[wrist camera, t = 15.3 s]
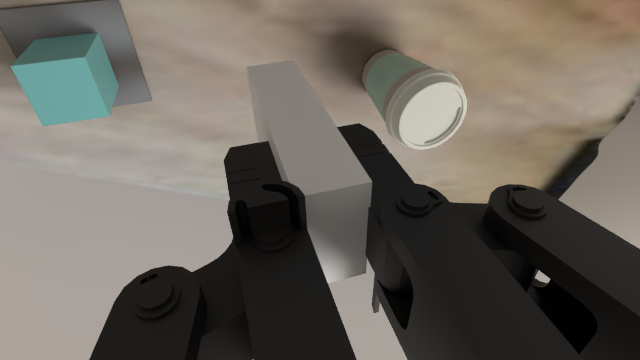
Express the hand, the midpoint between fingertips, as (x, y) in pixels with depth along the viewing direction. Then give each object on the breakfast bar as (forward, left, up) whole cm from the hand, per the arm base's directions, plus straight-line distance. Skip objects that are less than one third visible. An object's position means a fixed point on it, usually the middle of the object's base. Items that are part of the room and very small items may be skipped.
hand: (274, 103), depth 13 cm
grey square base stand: (+7, -14, -29) cm, 33 cm away
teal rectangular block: (+7, -14, -28) cm, 32 cm away
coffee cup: (+13, +18, -30) cm, 37 cm away
